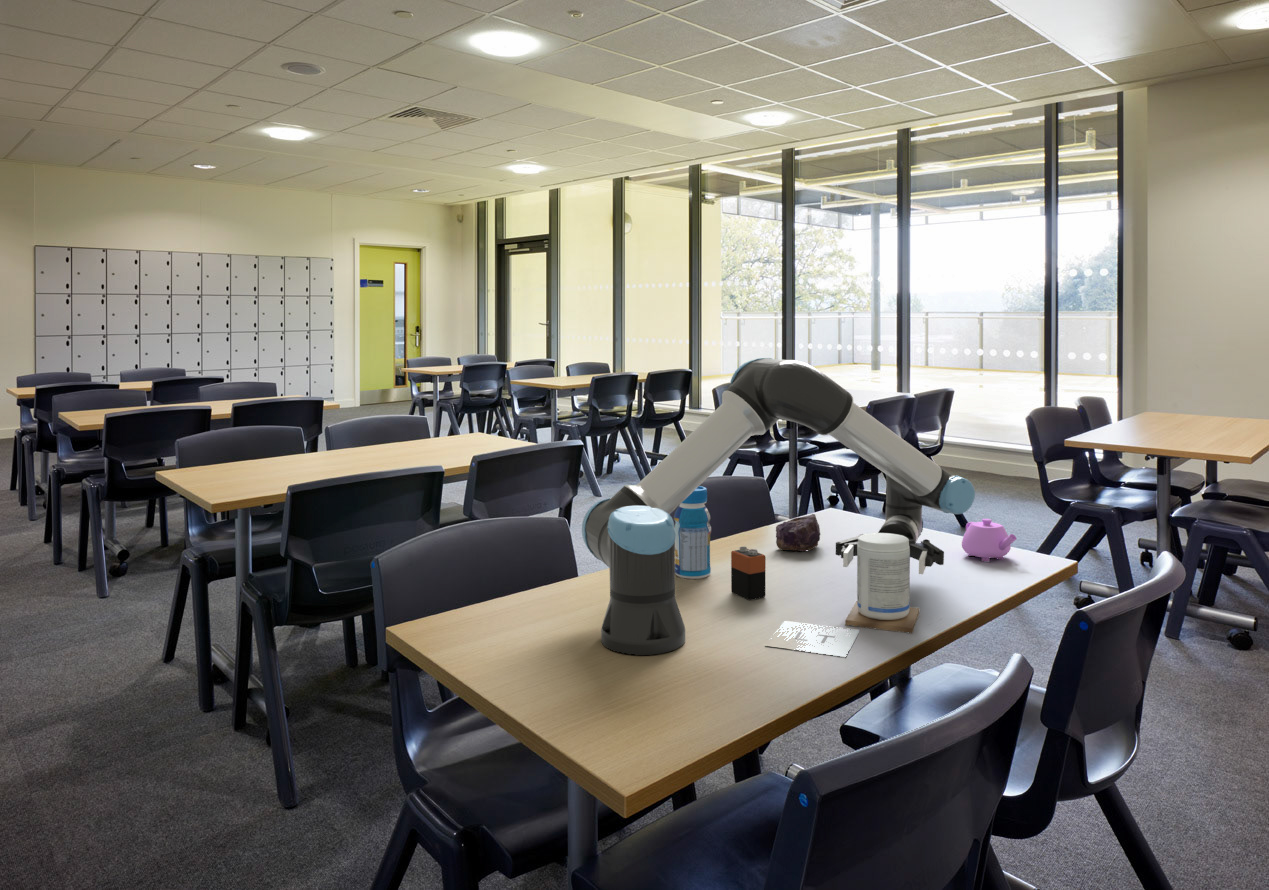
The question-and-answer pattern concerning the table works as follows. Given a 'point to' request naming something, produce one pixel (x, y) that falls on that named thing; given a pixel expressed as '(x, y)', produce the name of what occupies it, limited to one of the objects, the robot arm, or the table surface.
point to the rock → (798, 534)
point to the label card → (820, 638)
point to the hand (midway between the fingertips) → (882, 563)
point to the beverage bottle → (693, 536)
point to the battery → (748, 573)
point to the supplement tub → (883, 576)
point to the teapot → (986, 540)
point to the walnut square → (883, 621)
